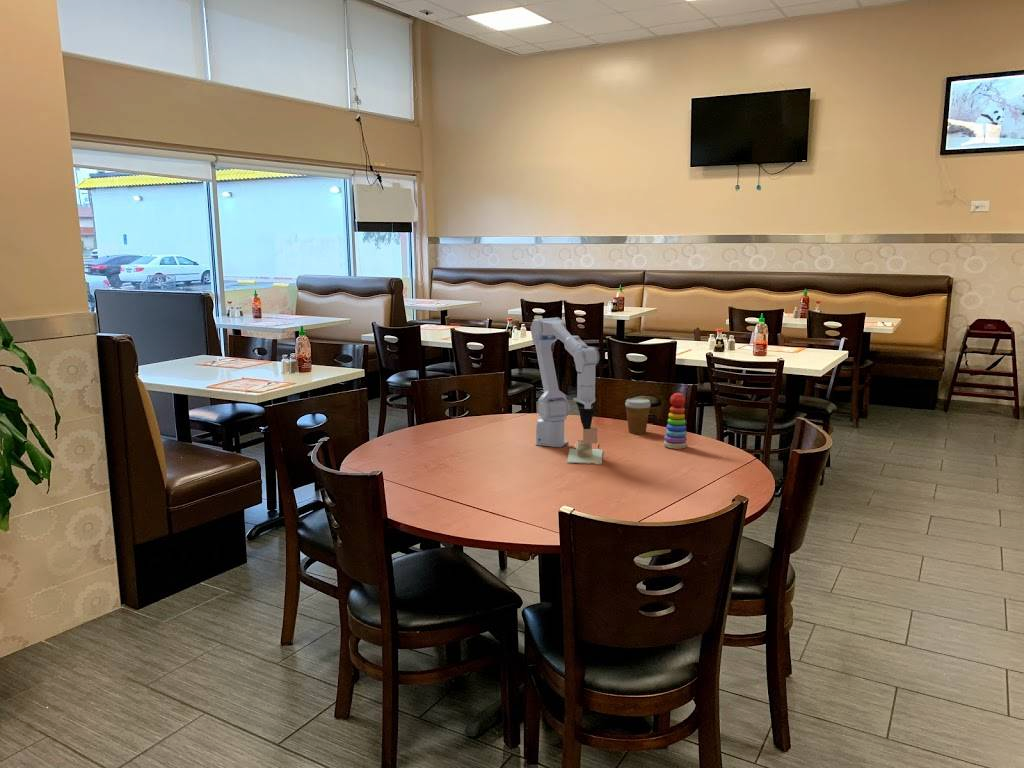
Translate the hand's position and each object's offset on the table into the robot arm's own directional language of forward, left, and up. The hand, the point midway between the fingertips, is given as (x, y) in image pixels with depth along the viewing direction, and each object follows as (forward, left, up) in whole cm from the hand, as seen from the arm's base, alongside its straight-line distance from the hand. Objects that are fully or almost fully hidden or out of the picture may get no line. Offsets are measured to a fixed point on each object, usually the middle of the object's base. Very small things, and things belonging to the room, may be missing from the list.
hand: (585, 426), depth 247 cm
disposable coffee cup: (+8, +40, -11) cm, 42 cm away
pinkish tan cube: (+2, 0, -5) cm, 6 cm away
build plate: (0, 0, -10) cm, 10 cm away
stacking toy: (+25, +24, -11) cm, 36 cm away
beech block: (0, 0, -10) cm, 10 cm away
